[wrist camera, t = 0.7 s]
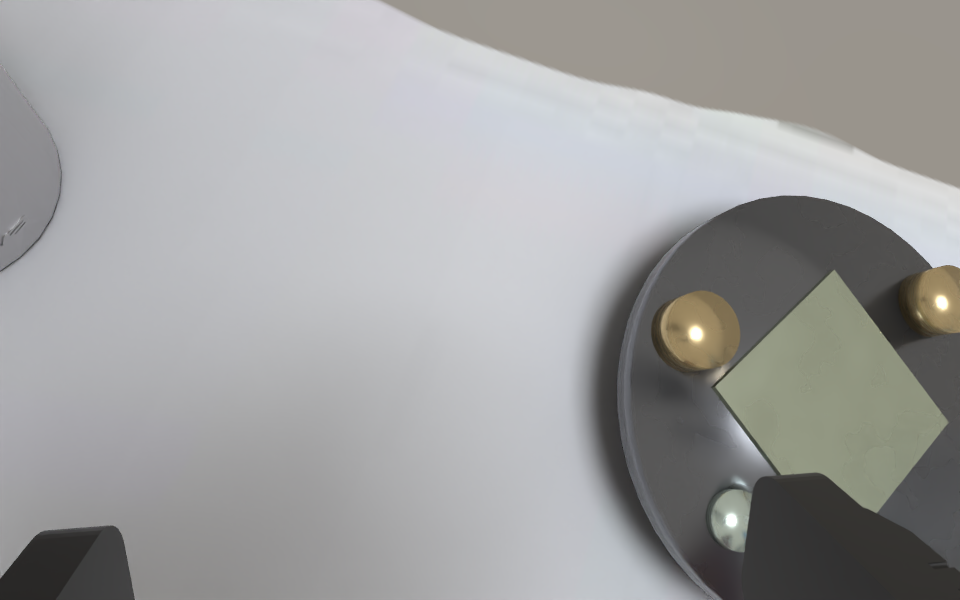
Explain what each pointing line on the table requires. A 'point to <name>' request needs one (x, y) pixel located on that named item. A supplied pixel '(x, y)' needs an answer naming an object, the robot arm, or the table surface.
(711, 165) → the table surface
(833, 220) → the stand
